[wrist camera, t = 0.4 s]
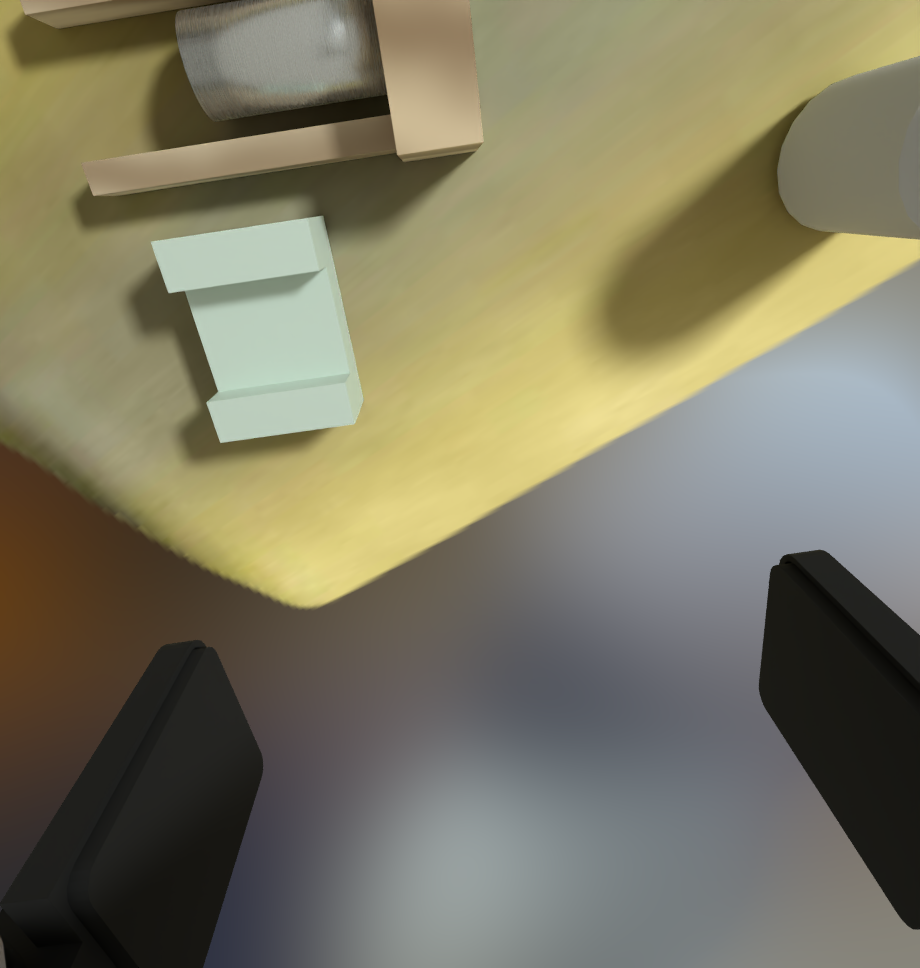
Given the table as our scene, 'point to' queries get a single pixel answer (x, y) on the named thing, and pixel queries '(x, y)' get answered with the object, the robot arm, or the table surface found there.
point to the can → (857, 155)
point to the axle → (279, 55)
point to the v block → (268, 326)
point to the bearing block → (406, 131)
